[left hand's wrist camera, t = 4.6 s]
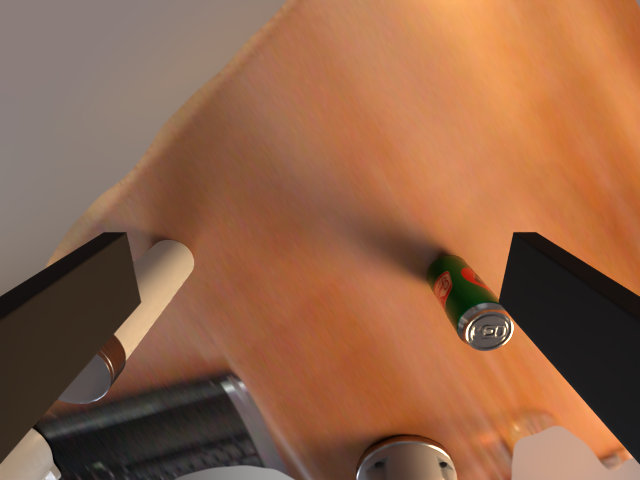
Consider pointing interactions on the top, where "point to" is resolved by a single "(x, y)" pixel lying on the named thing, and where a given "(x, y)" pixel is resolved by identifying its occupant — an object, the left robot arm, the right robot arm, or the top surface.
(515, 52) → the top surface
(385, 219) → the top surface
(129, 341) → the white cylindrical bottle
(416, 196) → the top surface
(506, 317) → the soda can
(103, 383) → the lid
